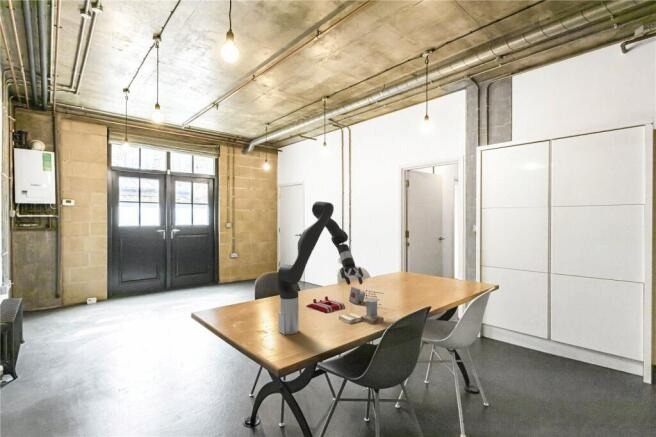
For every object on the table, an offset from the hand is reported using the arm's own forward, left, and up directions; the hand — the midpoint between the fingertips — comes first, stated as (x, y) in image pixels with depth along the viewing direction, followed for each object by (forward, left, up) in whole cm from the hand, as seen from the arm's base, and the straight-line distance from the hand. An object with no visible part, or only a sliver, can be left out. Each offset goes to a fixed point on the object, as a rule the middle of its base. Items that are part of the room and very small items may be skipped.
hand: (355, 284), depth 187 cm
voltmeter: (+21, +15, -19) cm, 32 cm away
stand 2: (+1, -13, -18) cm, 22 cm away
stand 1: (-8, -5, -18) cm, 21 cm away
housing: (+1, -13, -16) cm, 21 cm away
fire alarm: (-4, +25, -19) cm, 32 cm away
